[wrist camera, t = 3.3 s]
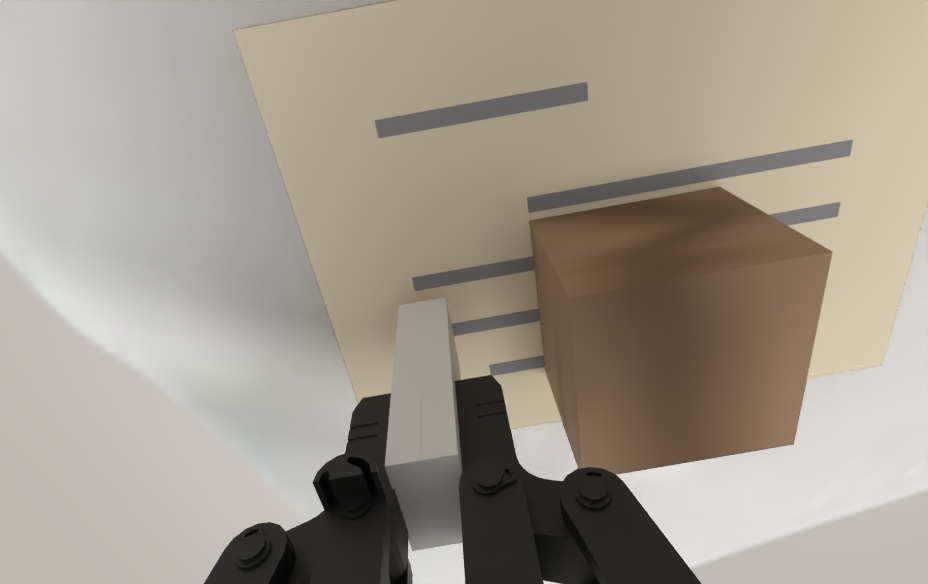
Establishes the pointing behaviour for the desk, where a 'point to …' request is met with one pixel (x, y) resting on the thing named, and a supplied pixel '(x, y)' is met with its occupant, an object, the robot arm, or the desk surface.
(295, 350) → the desk surface
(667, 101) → the letter
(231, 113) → the desk surface
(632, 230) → the block
